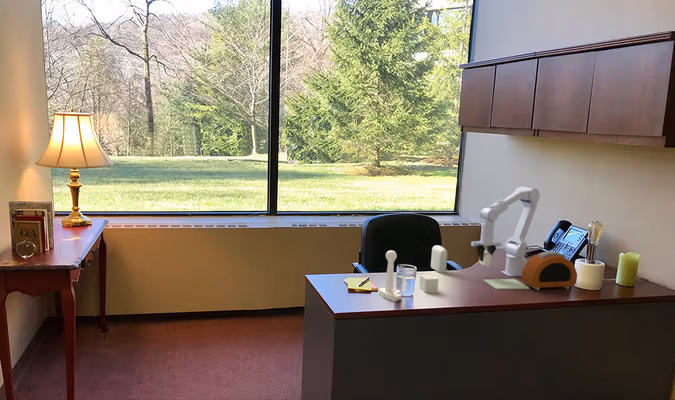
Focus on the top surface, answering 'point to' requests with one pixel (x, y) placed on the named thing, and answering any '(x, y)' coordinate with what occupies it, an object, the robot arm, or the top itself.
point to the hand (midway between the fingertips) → (484, 260)
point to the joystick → (390, 279)
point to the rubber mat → (505, 284)
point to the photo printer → (439, 259)
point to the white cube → (428, 283)
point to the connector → (486, 259)
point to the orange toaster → (549, 271)
